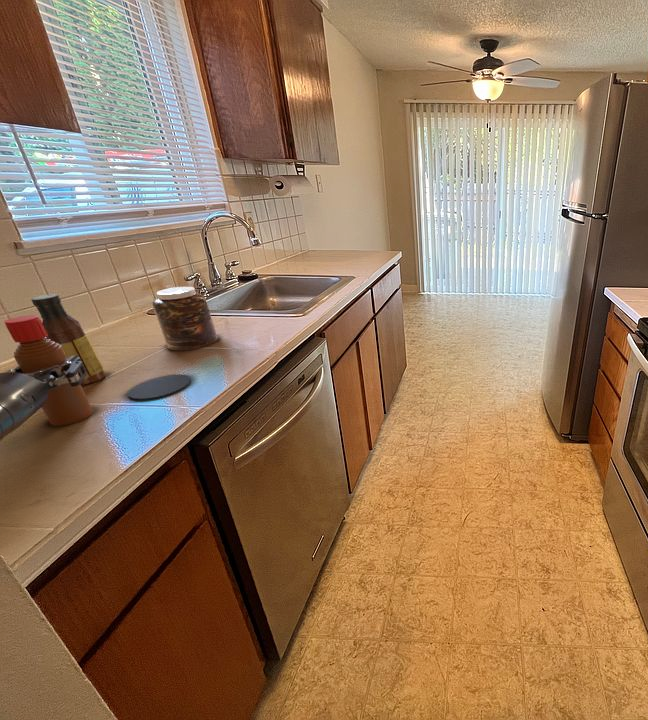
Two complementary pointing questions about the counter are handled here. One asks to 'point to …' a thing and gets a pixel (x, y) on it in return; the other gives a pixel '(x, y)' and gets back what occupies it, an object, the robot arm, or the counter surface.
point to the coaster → (159, 387)
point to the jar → (184, 318)
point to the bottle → (65, 399)
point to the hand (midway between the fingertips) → (54, 363)
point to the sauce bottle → (68, 335)
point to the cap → (26, 328)
